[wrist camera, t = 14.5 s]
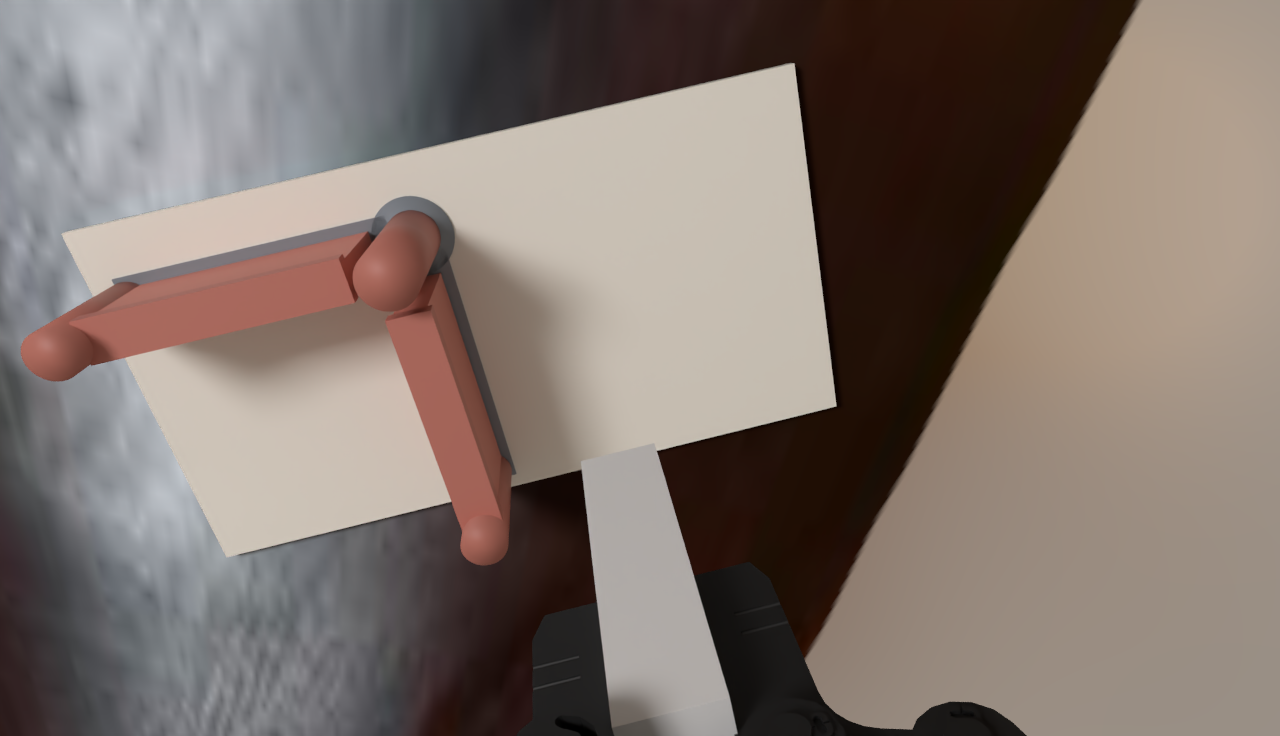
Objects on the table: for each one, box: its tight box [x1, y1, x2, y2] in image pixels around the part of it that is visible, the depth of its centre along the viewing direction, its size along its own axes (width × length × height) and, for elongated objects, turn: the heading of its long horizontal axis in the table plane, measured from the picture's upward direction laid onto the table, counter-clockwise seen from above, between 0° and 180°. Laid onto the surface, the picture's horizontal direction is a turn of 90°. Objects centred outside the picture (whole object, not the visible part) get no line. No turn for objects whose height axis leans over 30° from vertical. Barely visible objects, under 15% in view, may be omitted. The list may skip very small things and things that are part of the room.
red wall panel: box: [385, 273, 512, 565], centre depth 35 cm, size 11×2×6 cm, turn 13°
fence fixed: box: [21, 210, 441, 381], centre depth 32 cm, size 2×15×7 cm, turn 103°
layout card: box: [62, 63, 836, 557], centre depth 38 cm, size 17×32×1 cm, turn 102°
